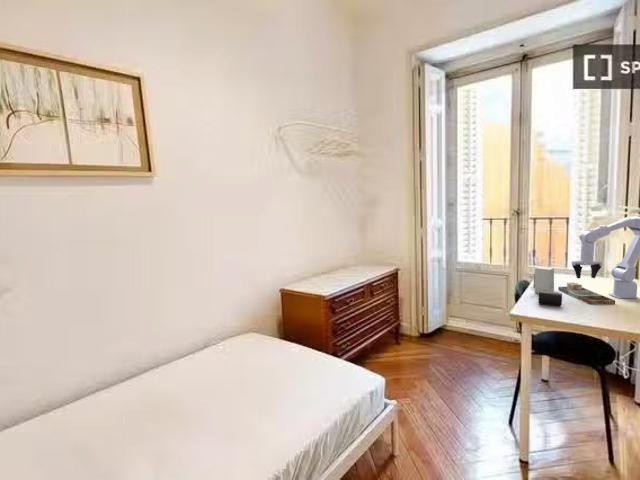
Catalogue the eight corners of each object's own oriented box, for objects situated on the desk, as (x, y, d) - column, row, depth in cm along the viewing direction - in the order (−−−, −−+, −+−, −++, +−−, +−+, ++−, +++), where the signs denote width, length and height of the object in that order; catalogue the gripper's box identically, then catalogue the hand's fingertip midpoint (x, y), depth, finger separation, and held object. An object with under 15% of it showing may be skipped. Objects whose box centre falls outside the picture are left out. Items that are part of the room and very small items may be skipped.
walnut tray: (602, 299, 196) (603, 295, 195) (615, 304, 187) (615, 300, 186) (578, 299, 197) (578, 295, 196) (589, 304, 188) (589, 300, 187)
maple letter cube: (575, 291, 213) (576, 282, 213) (581, 293, 208) (581, 284, 208) (566, 291, 214) (567, 282, 213) (571, 293, 209) (572, 284, 208)
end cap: (538, 305, 188) (538, 292, 187) (538, 301, 194) (538, 289, 193) (561, 308, 183) (562, 294, 182) (560, 304, 189) (561, 291, 188)
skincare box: (554, 294, 208) (555, 268, 206) (548, 295, 205) (550, 269, 203) (538, 291, 215) (539, 266, 213) (533, 292, 212) (534, 267, 210)
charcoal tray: (580, 289, 215) (580, 286, 215) (590, 294, 206) (590, 290, 206) (558, 289, 216) (558, 286, 216) (567, 294, 207) (567, 290, 207)
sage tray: (590, 294, 205) (591, 290, 205) (602, 298, 196) (602, 295, 196) (568, 294, 206) (568, 290, 206) (578, 298, 197) (578, 295, 197)
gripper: (577, 254, 195) (576, 279, 197) (606, 254, 194) (604, 279, 195) (569, 252, 202) (568, 276, 204) (597, 252, 201) (596, 276, 202)
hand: (585, 278), depth 200 cm, fingers open, 7 cm apart
